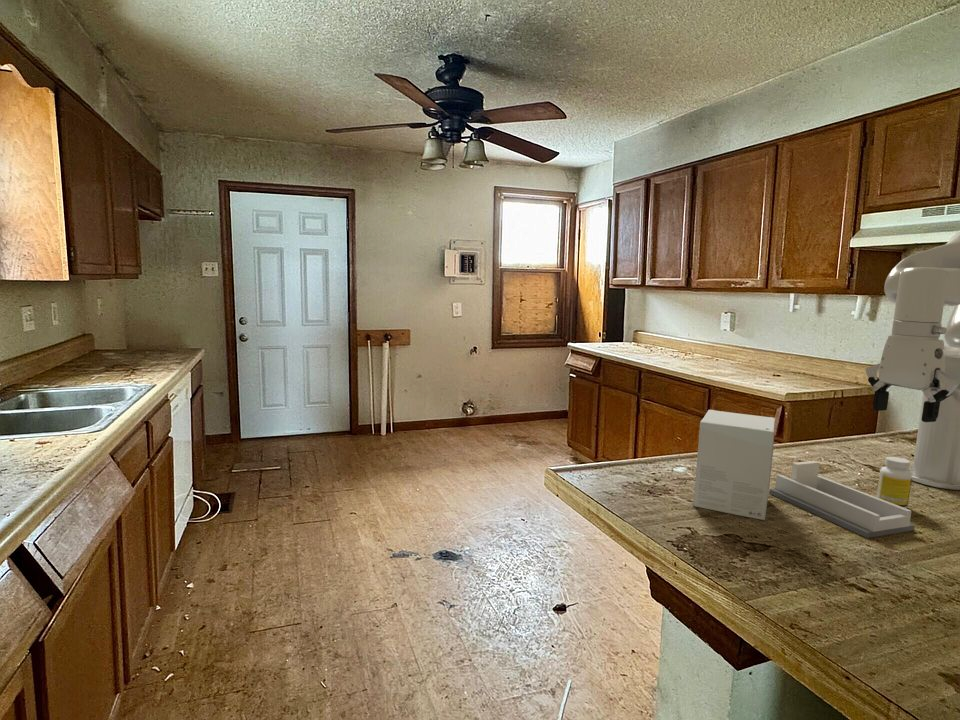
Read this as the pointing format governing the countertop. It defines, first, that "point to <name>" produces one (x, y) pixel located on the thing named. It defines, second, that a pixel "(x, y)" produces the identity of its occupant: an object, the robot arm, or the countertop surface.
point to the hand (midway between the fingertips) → (903, 415)
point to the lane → (845, 506)
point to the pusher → (806, 473)
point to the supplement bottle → (895, 481)
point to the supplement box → (734, 463)
